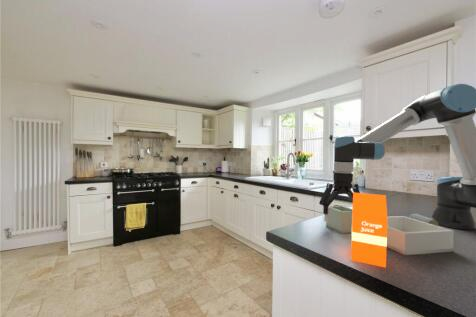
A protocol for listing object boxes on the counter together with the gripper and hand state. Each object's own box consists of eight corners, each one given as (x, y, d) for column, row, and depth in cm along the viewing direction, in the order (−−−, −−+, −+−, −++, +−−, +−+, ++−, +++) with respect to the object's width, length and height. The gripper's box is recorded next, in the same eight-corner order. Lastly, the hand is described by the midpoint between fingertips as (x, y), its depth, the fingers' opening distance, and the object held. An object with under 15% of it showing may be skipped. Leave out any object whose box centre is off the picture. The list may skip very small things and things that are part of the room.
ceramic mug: (428, 238, 85) (429, 219, 84) (406, 231, 92) (407, 213, 92) (445, 236, 88) (446, 217, 88) (422, 229, 96) (423, 212, 96)
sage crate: (341, 225, 98) (342, 205, 98) (358, 233, 89) (358, 211, 88) (326, 226, 97) (326, 206, 97) (340, 234, 87) (341, 211, 87)
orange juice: (350, 250, 72) (352, 190, 71) (382, 256, 68) (384, 193, 67) (351, 260, 65) (353, 194, 64) (386, 268, 61) (388, 197, 60)
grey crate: (402, 232, 91) (403, 216, 90) (453, 251, 73) (453, 230, 73) (361, 234, 87) (362, 217, 86) (404, 255, 69) (405, 233, 69)
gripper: (361, 172, 98) (359, 218, 99) (312, 171, 94) (310, 219, 94) (375, 173, 91) (372, 223, 91) (322, 172, 86) (320, 225, 86)
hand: (341, 221), depth 93 cm, fingers open, 13 cm apart
